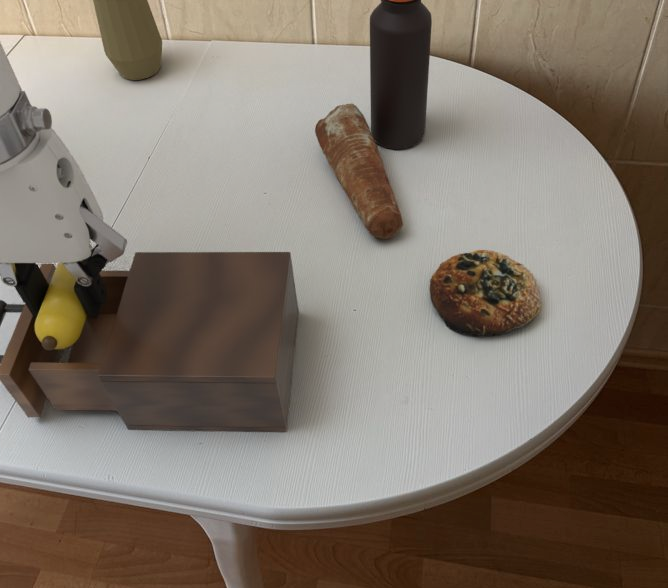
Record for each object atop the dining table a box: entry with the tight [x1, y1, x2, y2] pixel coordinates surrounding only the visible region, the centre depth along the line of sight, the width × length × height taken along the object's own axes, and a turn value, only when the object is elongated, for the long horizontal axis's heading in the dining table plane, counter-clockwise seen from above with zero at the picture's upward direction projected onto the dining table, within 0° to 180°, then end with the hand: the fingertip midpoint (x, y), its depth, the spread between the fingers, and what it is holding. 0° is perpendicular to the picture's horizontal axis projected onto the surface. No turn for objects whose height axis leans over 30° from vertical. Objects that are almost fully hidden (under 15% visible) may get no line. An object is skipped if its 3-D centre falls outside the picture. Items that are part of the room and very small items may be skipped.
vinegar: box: [369, 0, 433, 150], centre depth 80 cm, size 7×7×20 cm
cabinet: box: [98, 251, 300, 433], centre depth 64 cm, size 15×14×9 cm
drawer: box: [0, 263, 130, 418], centre depth 65 cm, size 18×13×7 cm
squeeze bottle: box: [92, 0, 163, 81], centre depth 93 cm, size 8×8×18 cm
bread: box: [314, 102, 404, 240], centre depth 80 cm, size 6×19×6 cm, turn 14°
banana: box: [35, 260, 87, 350], centre depth 61 cm, size 10×4×4 cm, turn 177°
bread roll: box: [428, 249, 542, 337], centre depth 70 cm, size 11×11×5 cm
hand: (70, 304), depth 61 cm, fingers open, 4 cm apart
